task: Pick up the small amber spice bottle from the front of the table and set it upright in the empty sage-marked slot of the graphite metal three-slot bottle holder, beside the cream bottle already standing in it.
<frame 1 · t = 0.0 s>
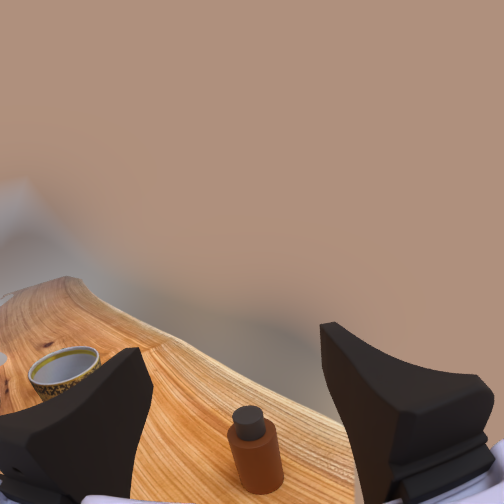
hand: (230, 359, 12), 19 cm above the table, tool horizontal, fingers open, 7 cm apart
spice bottle: (262, 479, 24), on the table
ceramic cup: (90, 422, 35), on the table
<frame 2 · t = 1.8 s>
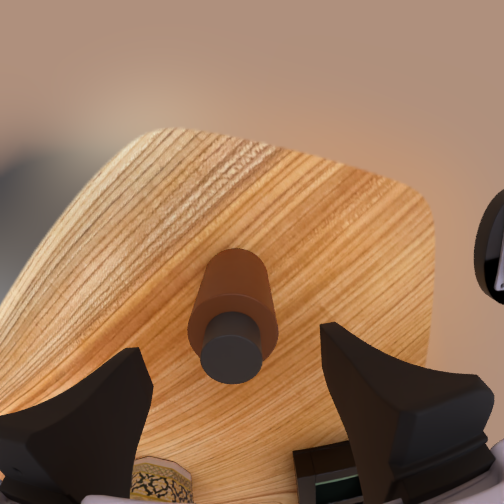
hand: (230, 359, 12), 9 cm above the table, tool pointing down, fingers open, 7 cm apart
spice bottle: (236, 278, 20), on the table
holder: (333, 494, 28), on the table
ceramic cup: (151, 474, 27), on the table
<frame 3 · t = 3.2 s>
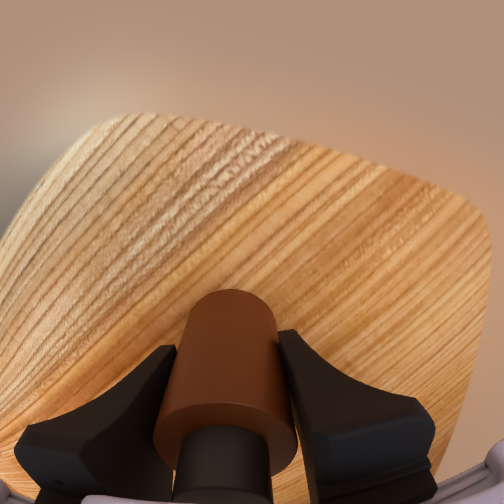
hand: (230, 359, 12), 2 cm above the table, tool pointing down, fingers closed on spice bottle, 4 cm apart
spice bottle: (231, 329, 14), on the table, touching gripper
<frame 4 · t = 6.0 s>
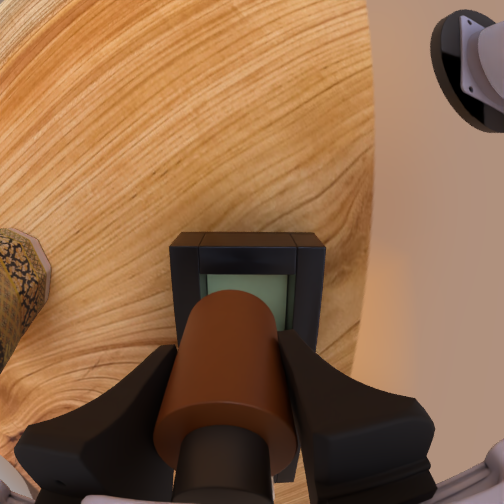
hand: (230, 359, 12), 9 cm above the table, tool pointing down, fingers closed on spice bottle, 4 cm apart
spice bottle: (231, 329, 14), point 7 cm above the table, touching gripper
holder: (247, 374, 23), on the table
ceramic cup: (13, 274, 21), on the table
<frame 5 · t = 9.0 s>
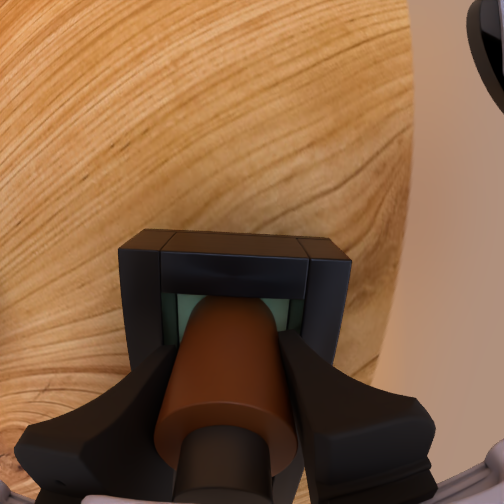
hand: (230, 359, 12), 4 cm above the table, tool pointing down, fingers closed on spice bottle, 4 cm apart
spice bottle: (231, 329, 14), point 1 cm above the table, touching gripper
holder: (229, 416, 17), on the table
when the fingers open (4 cm above the table, at t = 11.8 s): spice bottle drops 1 cm, resting on holder.
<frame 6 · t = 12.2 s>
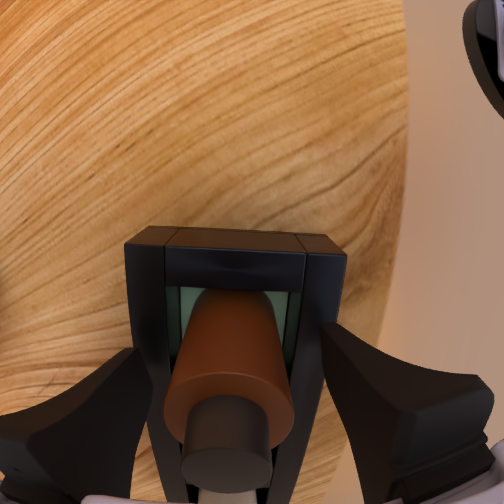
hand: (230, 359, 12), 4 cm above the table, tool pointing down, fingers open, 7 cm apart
spice bottle: (233, 317, 15), point 1 cm above the table, touching holder
holder: (229, 409, 18), on the table
cream bottle: (228, 472, 19), resting on holder
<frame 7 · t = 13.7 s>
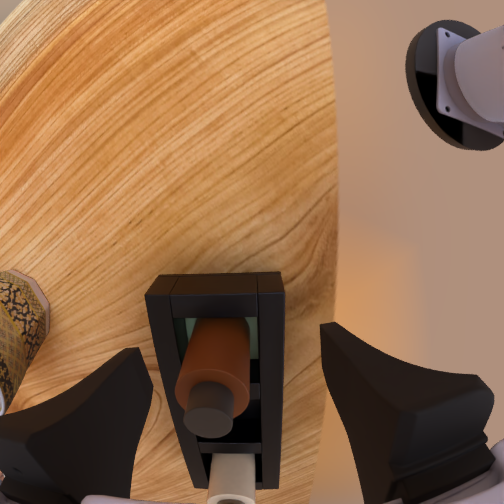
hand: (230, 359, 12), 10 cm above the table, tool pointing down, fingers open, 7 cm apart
spice bottle: (221, 331, 22), point 1 cm above the table, touching holder
holder: (229, 394, 25), on the table
cream bottle: (234, 445, 27), resting on holder
ceramic cup: (17, 309, 23), on the table
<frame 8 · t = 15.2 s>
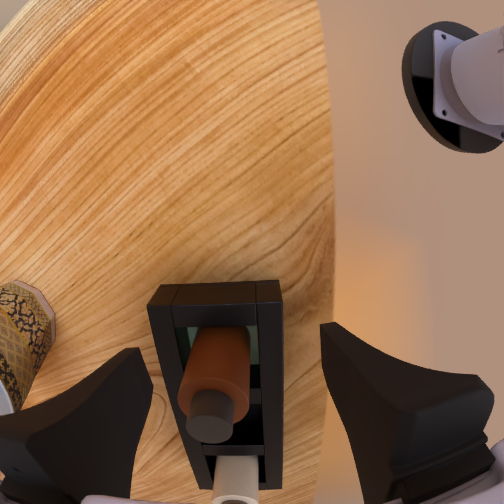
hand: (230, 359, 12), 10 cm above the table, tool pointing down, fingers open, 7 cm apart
spice bottle: (223, 338, 23), point 1 cm above the table, touching holder
holder: (231, 398, 25), on the table
cream bottle: (237, 447, 27), resting on holder
ceramic cup: (22, 318, 24), on the table
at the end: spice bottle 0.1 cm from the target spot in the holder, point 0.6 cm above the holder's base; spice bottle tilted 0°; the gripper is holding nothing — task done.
